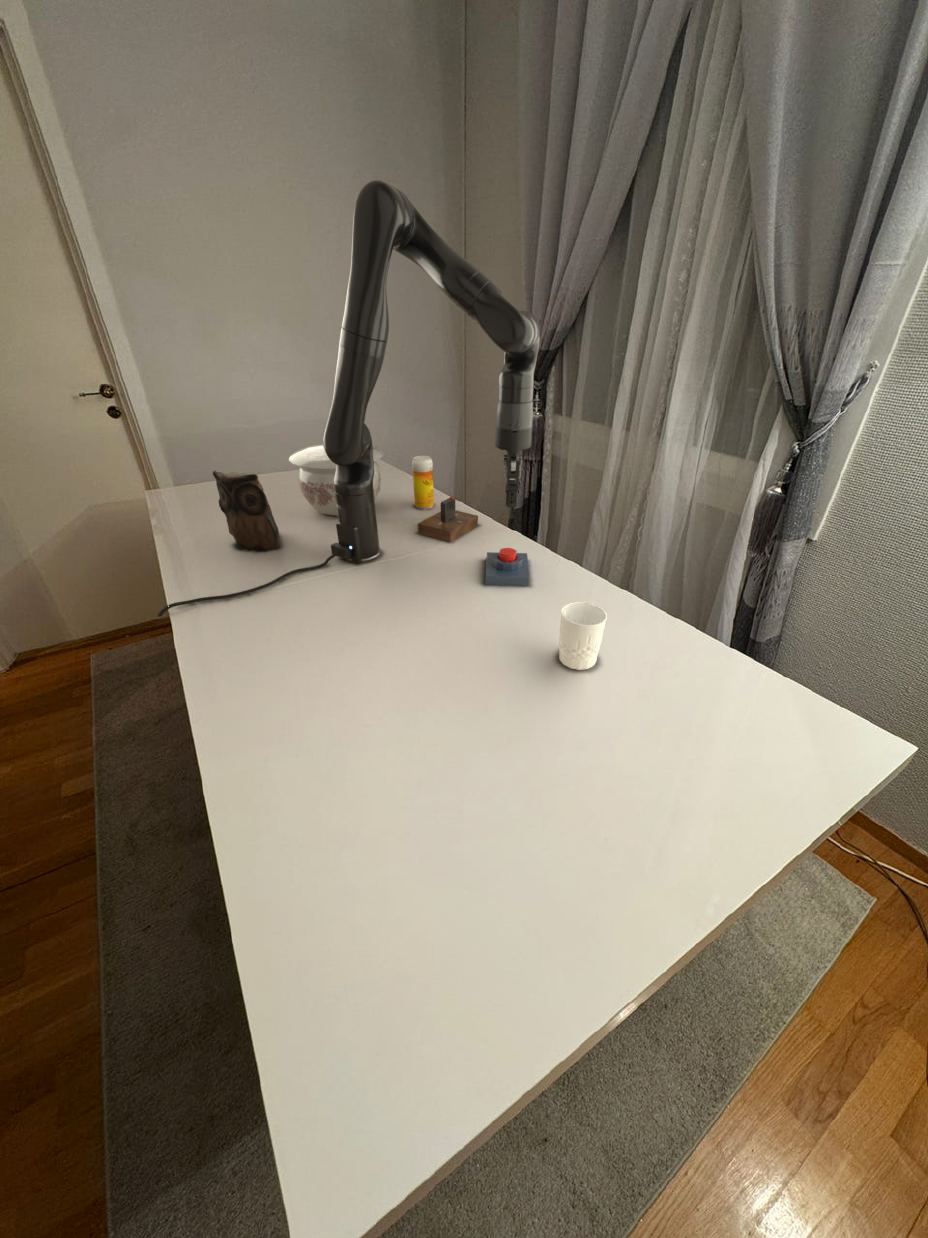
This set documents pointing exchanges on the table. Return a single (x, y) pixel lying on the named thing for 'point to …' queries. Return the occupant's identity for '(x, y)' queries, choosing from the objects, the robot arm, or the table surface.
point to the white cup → (581, 634)
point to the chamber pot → (324, 477)
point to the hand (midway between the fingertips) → (510, 499)
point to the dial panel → (448, 526)
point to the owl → (247, 511)
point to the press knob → (507, 554)
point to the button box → (507, 570)
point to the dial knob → (448, 509)
